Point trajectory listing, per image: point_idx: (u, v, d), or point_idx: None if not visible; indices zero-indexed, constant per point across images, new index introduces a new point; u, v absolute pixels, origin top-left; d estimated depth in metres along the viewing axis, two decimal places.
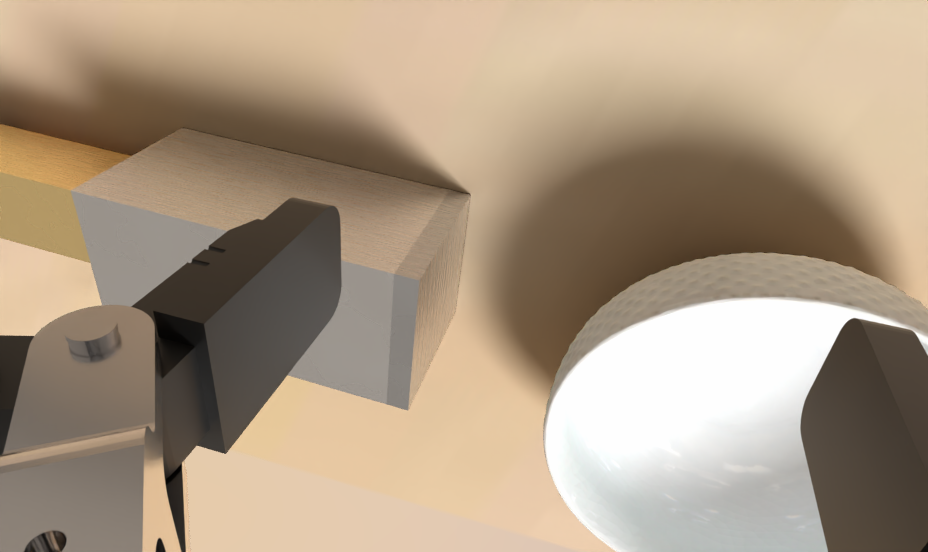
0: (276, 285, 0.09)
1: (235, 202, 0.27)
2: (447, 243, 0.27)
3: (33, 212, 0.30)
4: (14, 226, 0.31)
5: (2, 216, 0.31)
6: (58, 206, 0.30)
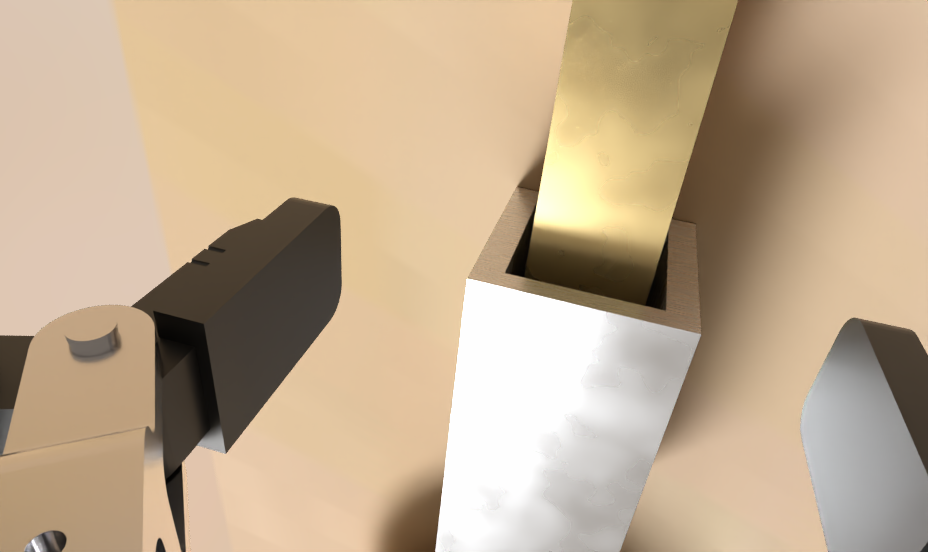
0: (275, 285, 0.09)
1: None
2: None
3: (628, 132, 0.18)
4: (596, 71, 0.17)
5: (615, 52, 0.17)
6: (639, 187, 0.19)
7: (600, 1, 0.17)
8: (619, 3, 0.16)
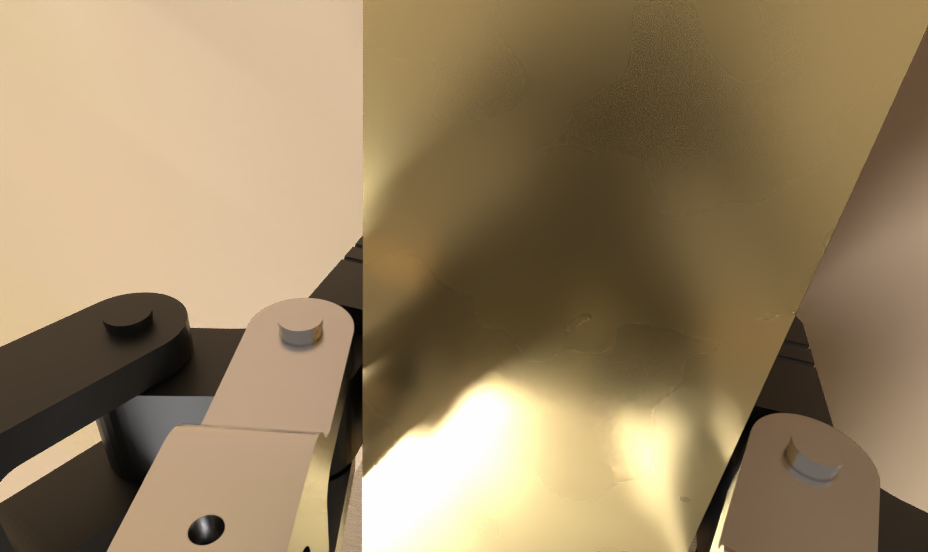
0: None
1: None
2: None
3: (535, 490, 0.08)
4: (447, 369, 0.07)
5: (487, 336, 0.07)
6: None
7: (433, 222, 0.06)
8: (485, 230, 0.06)
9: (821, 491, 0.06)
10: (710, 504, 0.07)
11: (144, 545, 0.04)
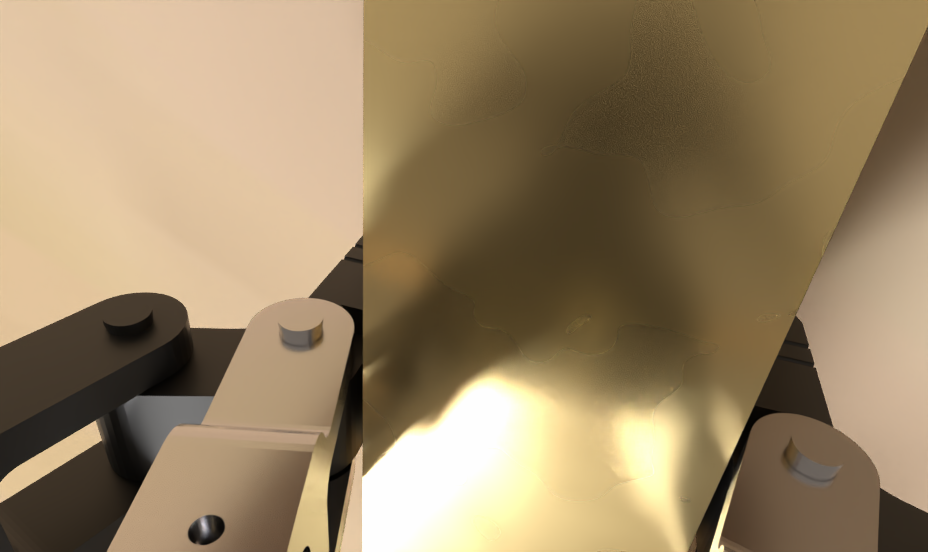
0: None
1: None
2: None
3: (536, 491, 0.08)
4: (447, 370, 0.07)
5: (487, 337, 0.07)
6: None
7: (433, 223, 0.06)
8: (485, 230, 0.06)
9: (821, 491, 0.06)
10: (710, 504, 0.07)
11: (144, 545, 0.04)
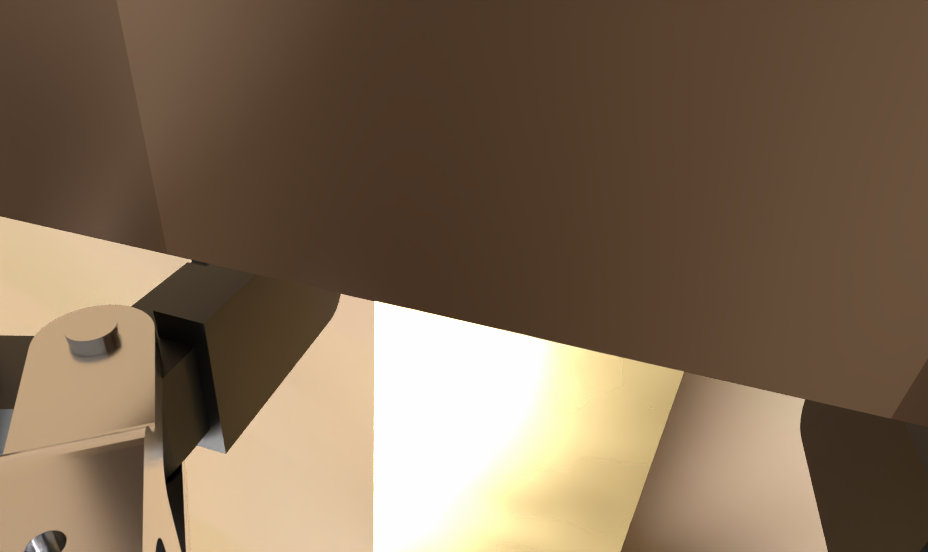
0: (275, 285, 0.09)
1: None
2: None
3: (524, 407, 0.09)
4: None
5: None
6: (557, 494, 0.09)
7: None
8: None
9: None
10: None
11: None
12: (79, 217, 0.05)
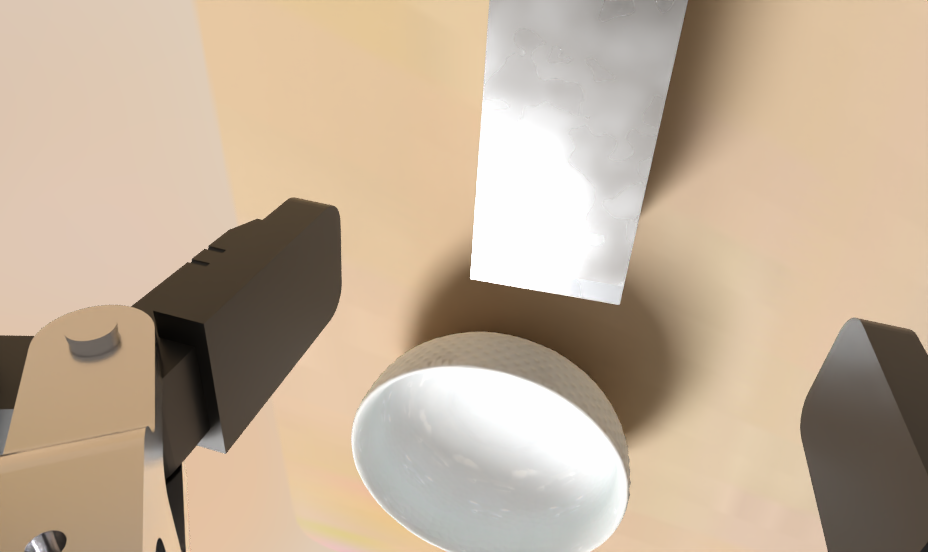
0: (275, 285, 0.09)
1: None
2: None
3: None
4: None
5: None
6: None
7: None
8: None
9: None
10: None
11: None
12: None
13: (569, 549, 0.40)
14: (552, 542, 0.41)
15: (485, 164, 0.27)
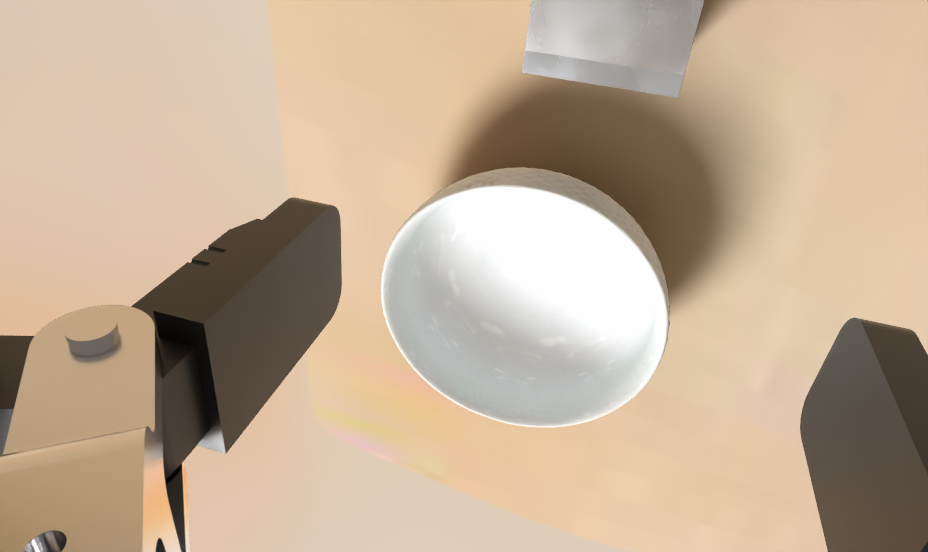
0: (276, 285, 0.09)
1: None
2: None
3: None
4: None
5: None
6: None
7: None
8: None
9: None
10: None
11: None
12: None
13: (599, 406, 0.39)
14: (580, 403, 0.40)
15: None
